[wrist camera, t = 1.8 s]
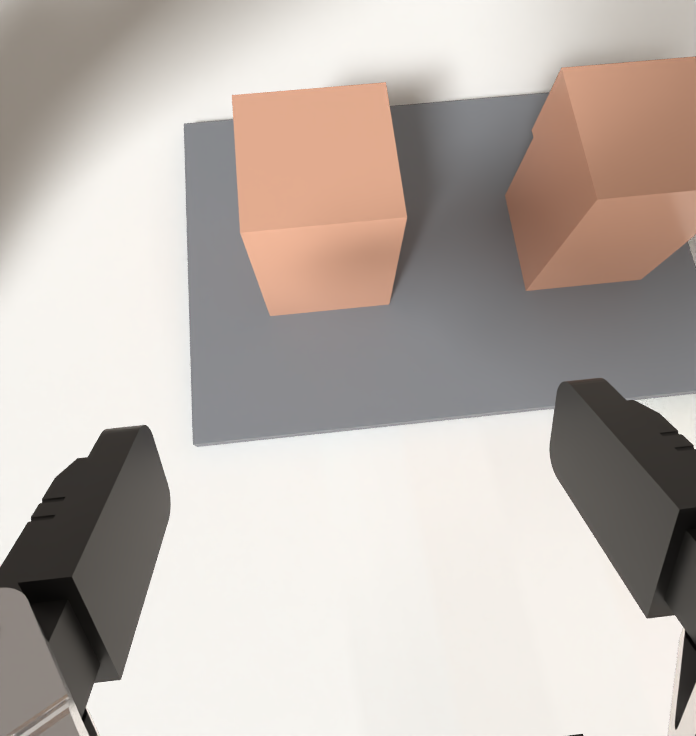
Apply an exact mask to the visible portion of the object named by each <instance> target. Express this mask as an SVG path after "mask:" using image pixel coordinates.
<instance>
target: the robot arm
mask: <svg viewBox="0 0 696 736" xmlns="http://www.w3.org/2000/svg"><path fill="white" fill-rule="evenodd" d="M693 446H694V445H693V444H692V443H690V442H689V441H688V440H687V439H686V438H685V437H684V436H683V435H682V434H680V435H679V434H678V430H677V429H676V428H674V427H673V426H672V425H671V424H670V423H669V422H668V421H667V420H666V419H665V418H664V417H663V416H662V415H661V414H660V413H658V412H656V411H654V410H652V409H650V408H648V407H646V406H644V405H642V404H640V403H638V402H637V401H635V400H626V399H625V398H624V397H623V396H622V395H621V394H620V393H619V392H618V391H617V390H616V389H615V388H614V387H613V386H612V385H611V384H610V383H609V382H608V381H606V380H605V379H603V378H593V379H583V380H574V381H565V382H562V383H561V384H560V385H559V387H558V389H557V394H556V401H555V409H554V417H553V424H552V432H551V439H550V459H551V464H552V467H553V470H554V473H555V475H556V477H557V479H558V480H559V482H560V483H561V485H562V486H563V488H564V489H565V491H566V493H567V494H568V496H569V497H570V499H571V500H572V502H573V504H574V505H575V507H576V508H577V510H578V511H579V513H580V515H581V516H582V518H583V519H584V521H585V522H586V524H587V525H588V527H589V529H590V530H591V532H592V533H593V535H594V536H595V538H596V540H597V541H598V543H599V544H600V546H601V547H602V549H603V551H604V552H605V554H606V555H607V557H608V558H609V560H610V562H611V563H612V565H613V566H614V568H615V569H616V571H617V572H618V574H619V576H620V577H621V579H622V580H623V582H624V583H625V585H626V587H627V588H628V590H629V591H630V593H631V594H632V596H633V598H634V599H635V601H636V602H637V604H638V605H639V607H640V608H641V610H642V612H643V613H644V615H645V616H646V618H655V617H663V616H672V615H675V616H676V617H677V619H678V620H679V621H680V623H681V624H682V626H683V629H682V632H681V635H680V639H679V645H678V653H677V661H676V669H675V678H674V686H673V694H672V703H671V711H670V719H669V727H668V736H696V449H694V447H693ZM169 516H170V492H169V487H168V483H167V480H166V477H165V474H164V470H163V467H162V464H161V461H160V457H159V454H158V451H157V448H156V445H155V441H154V438H153V435H152V432H151V430H150V429H149V427H148V426H146V425H140V426H131V427H121V428H112V429H105V430H104V431H103V432H102V433H101V435H100V436H99V438H98V440H97V442H96V443H95V445H94V447H93V449H92V451H91V452H90V454H89V456H88V457H86V458H77V459H76V460H75V461H74V462H73V463H72V464H71V465H69V466H68V467H67V468H66V469H65V470H64V471H62V472H61V473H60V474H59V475H58V476H57V477H56V478H55V479H54V481H53V482H52V484H51V485H50V487H49V489H48V490H47V492H46V494H45V495H44V497H43V498H42V503H40V504H39V505H38V507H37V508H36V510H35V512H34V513H33V515H32V516H31V522H28V523H27V525H26V526H25V528H24V529H23V531H22V533H21V534H20V536H19V538H18V539H17V541H16V543H15V544H14V546H13V547H12V549H11V551H10V552H9V554H8V556H7V557H6V559H5V560H4V562H3V564H2V565H1V567H0V736H100V735H99V732H98V730H97V728H96V726H95V723H94V721H93V719H92V717H91V714H90V712H89V710H88V709H87V707H86V705H87V702H88V699H89V696H90V693H91V690H92V687H93V684H94V683H97V682H106V681H114V680H121V677H122V674H123V671H124V667H125V664H126V661H127V657H128V654H129V651H130V647H131V644H132V641H133V637H134V634H135V631H136V627H137V624H138V621H139V617H140V614H141V610H142V607H143V604H144V600H145V597H146V594H147V590H148V587H149V584H150V580H151V577H152V574H153V570H154V567H155V564H156V560H157V557H158V554H159V550H160V547H161V544H162V540H163V537H164V534H165V530H166V527H167V524H168V520H169ZM570 736H583V734H578V735H570Z"/></svg>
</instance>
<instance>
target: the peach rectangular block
mask: <svg viewBox="0 0 696 736" xmlns="http://www.w3.org/2000/svg"><path fill="white" fill-rule="evenodd" d="M532 133H533V139H532V142H531V144H530V146H529V148H528V150H527V152H526V154H525V156H524V158H523V160H522V162H521V164H520V166H519V168H518V170H517V172H516V174H515V176H514V178H513V180H512V182H511V184H510V186H509V188H508V190H507V192H506V194H505V198H506V202H507V207H508V211H509V216H510V221H511V225H512V230H513V234H514V239H515V244H516V248H517V253H518V257H519V262H520V266H521V271H522V276H523V280H524V285H525V289H526V291H531V290H541V289H551V288H561V287H571V286H581V285H591V284H602V283H612V282H622V281H632V280H641V279H642V278H644V277H645V276H646V275H647V274H648V273H650V272H651V271H652V270H653V269H654V268H656V267H657V266H658V265H659V264H661V263H662V262H663V261H664V260H665V259H667V258H668V257H669V256H670V255H672V254H673V253H674V252H675V251H676V250H678V249H679V248H680V247H681V246H683V245H684V244H685V243H686V242H687V241H689V240H690V239H691V238H692V237H694V236H695V235H696V57H684V58H672V59H660V60H648V61H636V62H624V63H612V64H600V65H588V66H576V67H564V68H561V70H560V72H559V74H558V76H557V78H556V80H555V82H554V84H553V87H552V89H551V91H550V93H549V95H548V97H547V99H546V101H545V103H544V105H543V108H542V110H541V112H540V114H539V116H538V118H537V120H536V122H535V124H534V126H533V128H532Z"/></svg>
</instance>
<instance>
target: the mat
mask: <svg viewBox="0 0 696 736" xmlns="http://www.w3.org/2000/svg"><path fill="white" fill-rule="evenodd" d="M548 95H549V93H539V94H527V95H516V96H504V97H492V98H480V99H469V100H457V101H445V102H433V103H422V104H410V105H398V106H390V112H391V118H392V124H393V131H394V137H395V143H396V150H397V156H398V162H399V169H400V175H401V181H402V188H403V194H404V200H405V207H406V213H407V220H406V225H405V230H404V235H403V240H402V245H401V250H400V255H399V259H398V264H397V269H396V274H395V279H394V284H393V289H392V294H391V298H390V303H389V305H379V306H368V307H358V308H348V309H338V310H328V311H318V312H308V313H297V314H287V315H277V316H270V314H269V312H268V309H267V306H266V303H265V301H264V298H263V295H262V292H261V289H260V287H259V284H258V281H257V278H256V276H255V273H254V270H253V267H252V264H251V262H250V259H249V256H248V253H247V251H246V248H245V245H244V242H243V239H242V237H241V234H240V223H239V206H238V189H237V172H236V156H235V139H234V122H233V120H222V121H210V122H198V123H187V124H184V144H185V179H186V215H187V250H188V285H189V320H190V356H191V391H192V426H193V445H195V446H197V447H199V446H208V445H218V444H227V443H236V442H246V441H255V440H264V439H274V438H283V437H293V436H302V435H311V434H321V433H330V432H339V431H349V430H358V429H367V428H377V427H386V426H395V425H405V424H414V423H423V422H433V421H442V420H451V419H461V418H470V417H480V416H489V415H498V414H508V413H517V412H526V411H536V410H545V409H554V408H555V401H556V394H557V389H558V387H559V385H560V384H561V383H562V382H565V381H574V380H583V379H593V378H603V379H605V380H606V381H608V382H609V383H610V384H611V385H612V386H613V387H614V388H615V389H616V390H617V391H618V392H619V393H620V394H621V395H622V396H623V397H624V398H625V399H626V400H639V399H648V398H657V397H667V396H676V395H685V394H695V393H696V267H695V264H694V261H693V257H692V254H691V251H690V248H689V245H688V242H686V243H685V244H684V245H683V246H681V247H680V248H679V249H678V250H676V251H675V252H674V253H673V254H672V255H670V256H669V257H668V258H667V259H665V260H664V261H663V262H662V263H661V264H659V265H658V266H657V267H656V268H654V269H653V270H652V271H651V272H650V273H648V274H647V275H646V276H645V277H644V278H642V279H641V280H632V281H622V282H612V283H602V284H591V285H581V286H571V287H561V288H551V289H541V290H531V291H526V289H525V285H524V280H523V276H522V271H521V266H520V262H519V257H518V253H517V248H516V244H515V239H514V234H513V230H512V225H511V221H510V216H509V211H508V207H507V202H506V198H505V194H506V192H507V190H508V188H509V186H510V184H511V182H512V180H513V178H514V176H515V174H516V172H517V170H518V168H519V166H520V164H521V162H522V160H523V158H524V156H525V154H526V152H527V150H528V148H529V146H530V144H531V142H532V139H533V133H532V128H533V126H534V124H535V122H536V120H537V118H538V116H539V114H540V112H541V110H542V108H543V105H544V103H545V101H546V99H547V97H548Z"/></svg>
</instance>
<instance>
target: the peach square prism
mask: <svg viewBox="0 0 696 736" xmlns="http://www.w3.org/2000/svg"><path fill="white" fill-rule="evenodd" d="M232 105H233V122H234V139H235V156H236V172H237V189H238V206H239V223H240V234H241V237H242V239H243V242H244V245H245V248H246V251H247V253H248V256H249V259H250V262H251V264H252V267H253V270H254V273H255V276H256V278H257V281H258V284H259V287H260V289H261V292H262V295H263V298H264V301H265V303H266V306H267V309H268V312H269V314H270V316H277V315H287V314H297V313H308V312H318V311H328V310H338V309H348V308H358V307H368V306H379V305H389V303H390V298H391V294H392V289H393V284H394V279H395V274H396V269H397V264H398V259H399V255H400V250H401V245H402V240H403V235H404V230H405V225H406V220H407V213H406V207H405V200H404V194H403V188H402V181H401V175H400V169H399V162H398V156H397V150H396V143H395V137H394V131H393V124H392V118H391V112H390V105H389V99H388V93H387V86H386V82H385V83H373V84H361V85H349V86H337V87H325V88H313V89H301V90H289V91H277V92H265V93H253V94H241V95H232Z"/></svg>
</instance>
